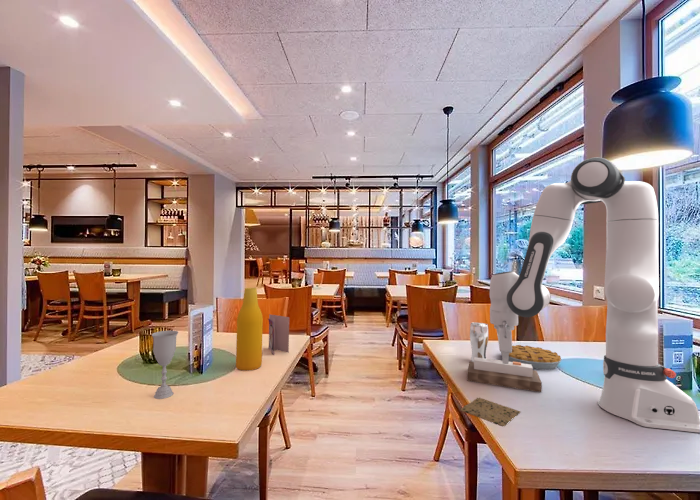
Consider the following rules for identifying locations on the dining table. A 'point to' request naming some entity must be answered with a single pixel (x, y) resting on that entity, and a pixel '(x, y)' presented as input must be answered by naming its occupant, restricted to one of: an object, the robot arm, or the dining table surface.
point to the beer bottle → (249, 333)
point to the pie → (535, 357)
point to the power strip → (503, 367)
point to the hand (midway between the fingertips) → (504, 359)
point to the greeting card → (278, 333)
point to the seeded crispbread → (490, 411)
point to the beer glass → (478, 340)
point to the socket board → (504, 379)
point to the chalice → (164, 358)
